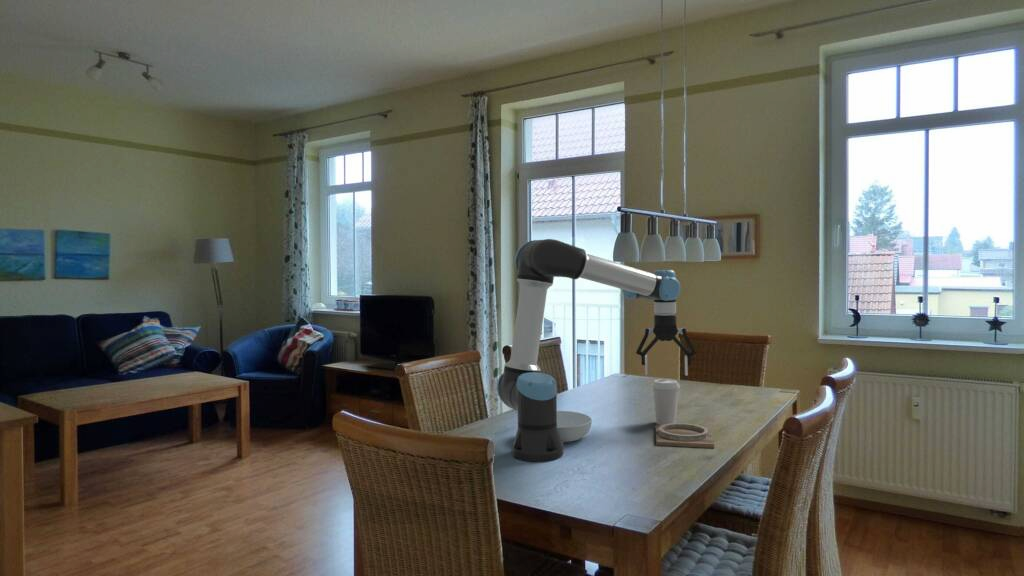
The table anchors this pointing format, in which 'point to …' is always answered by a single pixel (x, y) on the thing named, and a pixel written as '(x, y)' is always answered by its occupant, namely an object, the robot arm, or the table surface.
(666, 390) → the coffee cup
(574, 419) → the serving bowl
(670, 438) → the carrier board
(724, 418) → the table surface
